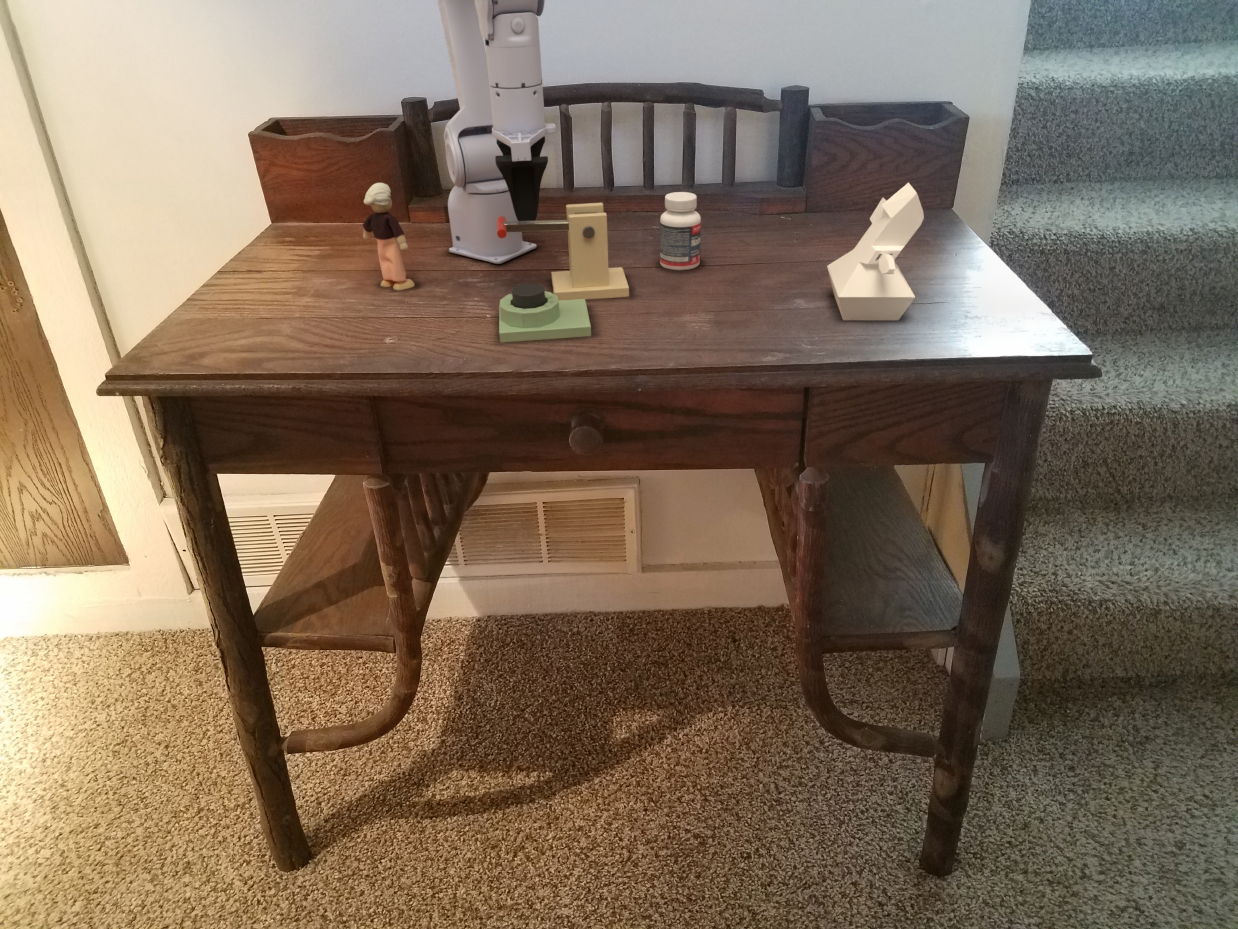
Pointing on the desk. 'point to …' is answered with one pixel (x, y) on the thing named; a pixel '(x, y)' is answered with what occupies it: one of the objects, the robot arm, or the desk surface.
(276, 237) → the desk surface
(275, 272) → the desk surface
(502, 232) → the lever
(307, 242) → the desk surface
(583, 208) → the bracket
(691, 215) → the pill bottle
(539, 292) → the button
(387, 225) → the grandmother figurine
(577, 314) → the button box
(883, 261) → the beige angled stand
